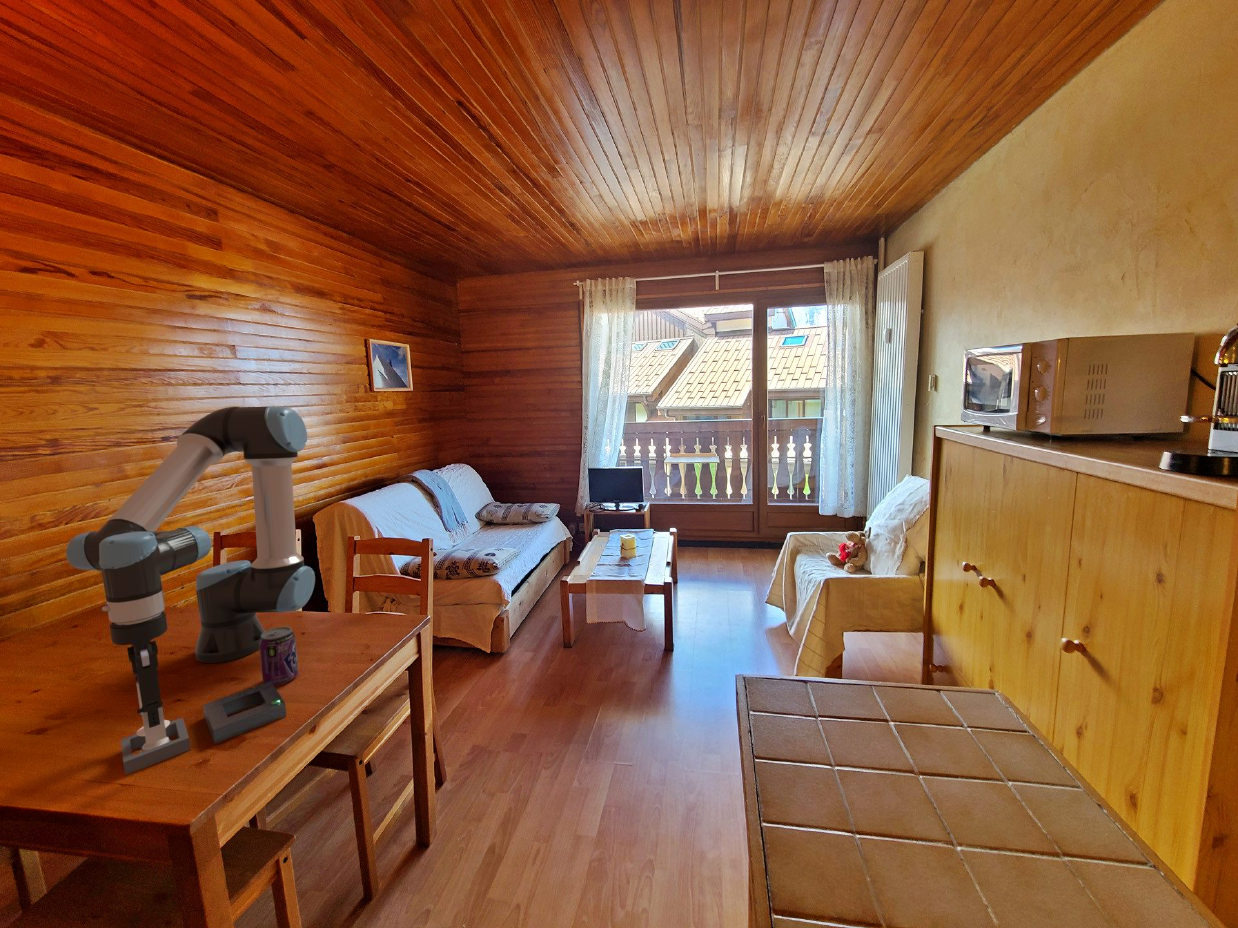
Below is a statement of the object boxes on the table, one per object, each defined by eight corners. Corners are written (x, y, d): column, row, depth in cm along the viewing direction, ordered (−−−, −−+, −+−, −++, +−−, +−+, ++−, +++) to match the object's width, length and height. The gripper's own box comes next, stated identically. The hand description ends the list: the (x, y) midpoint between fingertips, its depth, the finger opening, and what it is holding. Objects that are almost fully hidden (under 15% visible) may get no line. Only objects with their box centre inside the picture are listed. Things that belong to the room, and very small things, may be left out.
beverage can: (281, 689, 116) (276, 640, 115) (255, 686, 118) (250, 637, 116) (305, 673, 123) (301, 626, 122) (281, 670, 125) (276, 624, 123)
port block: (204, 717, 106) (202, 702, 106) (271, 693, 115) (270, 679, 115) (215, 744, 98) (213, 727, 98) (286, 715, 107) (285, 700, 106)
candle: (129, 762, 93) (121, 702, 92) (150, 743, 99) (142, 685, 97) (163, 758, 94) (155, 698, 93) (181, 739, 100) (174, 682, 98)
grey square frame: (122, 751, 96) (120, 739, 96) (184, 728, 103) (182, 717, 102) (125, 775, 90) (123, 762, 90) (190, 749, 97) (189, 737, 96)
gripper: (106, 604, 98) (122, 707, 101) (111, 645, 82) (129, 766, 85) (158, 593, 104) (171, 691, 107) (172, 630, 87) (187, 744, 90)
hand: (153, 725), depth 96 cm, fingers open, 12 cm apart
